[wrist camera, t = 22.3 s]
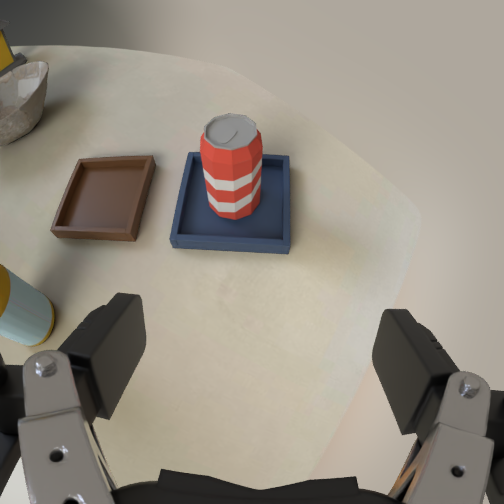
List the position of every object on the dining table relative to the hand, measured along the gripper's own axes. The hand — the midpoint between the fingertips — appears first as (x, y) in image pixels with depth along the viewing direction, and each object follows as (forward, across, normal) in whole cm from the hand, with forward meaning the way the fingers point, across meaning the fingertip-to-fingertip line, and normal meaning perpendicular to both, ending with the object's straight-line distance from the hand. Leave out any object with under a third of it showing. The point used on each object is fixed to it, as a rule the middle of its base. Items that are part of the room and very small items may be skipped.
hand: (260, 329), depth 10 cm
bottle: (+19, +27, +15) cm, 36 cm away
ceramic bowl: (+45, +51, -11) cm, 68 cm away
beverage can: (+31, +4, +2) cm, 31 cm away
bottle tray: (+31, +22, +2) cm, 38 cm away
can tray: (+31, +4, +2) cm, 32 cm away
